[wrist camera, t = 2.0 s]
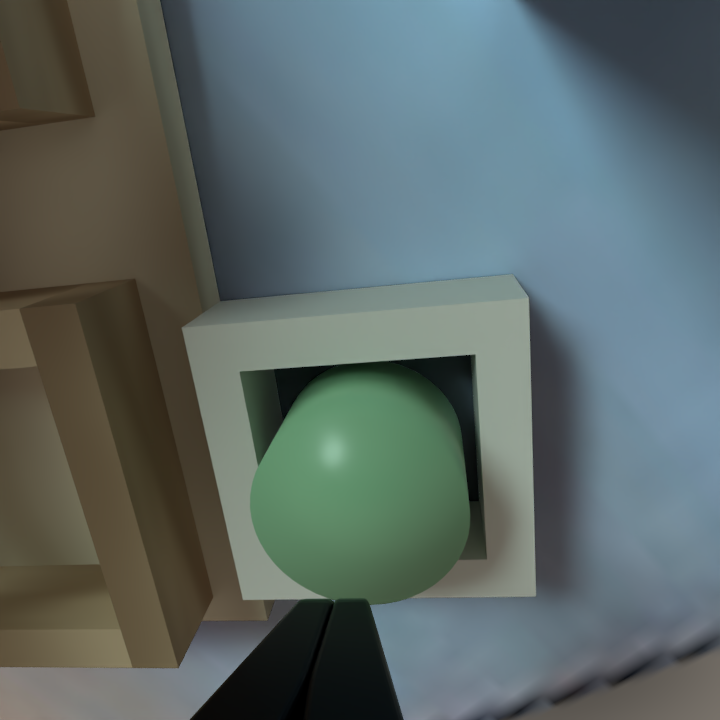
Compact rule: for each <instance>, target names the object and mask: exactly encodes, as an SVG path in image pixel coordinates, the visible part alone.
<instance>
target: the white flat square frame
mask: <svg viewBox="0 0 720 720" xmlns="http://www.w3.org/2000/svg"><path fill="white" fill-rule="evenodd" d="M182 331H183V336H184V340H185V345H186V349H187V354H188V358H189V363H190V367H191V371H192V376H193V380H194V385H195V389H196V394H197V398H198V402H199V407H200V411H201V416H202V420H203V425H204V429H205V433H206V438H207V442H208V447H209V451H210V456H211V460H212V465H213V469H214V473H215V478H216V482H217V487H218V491H219V496H220V500H221V504H222V509H223V513H224V518H225V522H226V527H227V531H228V535H229V540H230V544H231V549H232V553H233V558H234V562H235V567H236V571H237V575H238V580H239V584H240V589H241V593H242V598H243V600H284V599H324V598H326V597H324V596H321V595H318V594H316V593H314V592H312V591H310V590H308V589H306V588H304V587H303V586H301V585H299V584H298V583H296V582H295V581H293V580H292V579H291V578H290V577H288V576H287V575H286V574H285V573H283V572H282V571H281V570H280V569H279V568H278V567H277V566H276V565H275V564H274V562H273V561H272V560H271V559H270V557H269V556H268V555H267V553H266V552H265V550H264V548H263V547H262V545H261V543H260V541H259V539H258V537H257V535H256V532H255V529H254V526H253V522H252V518H251V511H250V493H251V487H252V482H253V479H254V476H255V473H256V470H257V468H258V467H259V465H260V463H261V461H262V459H263V457H264V455H265V453H266V452H267V450H268V448H269V446H270V444H271V443H272V441H273V439H274V437H275V435H276V434H277V432H278V430H279V428H280V426H281V425H282V423H283V417H282V412H281V406H280V400H279V395H278V389H277V383H276V378H275V372H274V369H281V368H295V367H309V366H323V365H336V364H350V363H364V362H378V361H391V360H405V359H419V358H433V357H446V356H460V355H470V356H471V373H472V390H473V407H474V424H475V441H476V458H477V475H478V492H479V501H472V502H469V506H470V528H469V534H468V538H467V541H466V544H465V547H464V550H463V552H462V553H461V555H460V557H459V559H458V561H457V562H456V563H455V565H454V566H453V568H452V569H451V570H450V571H449V572H448V573H447V574H446V575H445V576H444V577H443V578H442V579H441V580H440V581H439V582H437V583H436V584H435V585H433V586H432V587H430V588H429V589H427V590H425V591H423V592H422V593H420V594H417V595H415V596H413V597H410V598H460V597H536V573H535V531H534V489H533V446H532V404H531V362H530V319H529V297H528V296H527V294H526V293H525V291H524V290H523V289H522V287H521V286H520V284H519V283H518V281H517V280H516V278H515V277H514V275H513V274H510V275H499V276H488V277H477V278H466V279H455V280H444V281H434V282H423V283H412V284H401V285H390V286H379V287H368V288H358V289H347V290H336V291H325V292H314V293H303V294H292V295H282V296H271V297H260V298H249V299H238V300H227V301H220V302H218V303H217V304H215V305H214V306H212V307H211V308H210V309H208V310H207V311H205V312H204V313H202V314H201V315H199V316H198V317H197V318H195V319H194V320H192V321H191V322H189V323H188V324H186V325H185V326H184V327H182ZM328 599H329V598H328Z"/></svg>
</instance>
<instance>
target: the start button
mask: <svg viewBox="0 0 720 720" xmlns="http://www.w3.org/2000/svg"><path fill="white" fill-rule="evenodd" d="M250 511H251V518H252V522H253V526H254V529H255V532H256V535H257V537H258V539H259V541H260V543H261V545H262V547H263V548H264V550H265V552H266V553H267V555H268V556H269V557H270V559H271V560H272V561H273V562H274V564H275V565H276V566H277V567H278V568H279V569H280V570H281V571H282V572H283V573H285V574H286V575H287V576H288V577H290V578H291V579H292V580H293V581H295V582H296V583H298V584H299V585H301V586H303V587H304V588H306V589H308V590H310V591H312V592H314V593H316V594H318V595H321V596H324V597H326V598H329V599H333V600H337V599H340V598H365V599H367V600H368V602H369V604H370V605H375V604H386V603H392V602H397V601H401V600H404V599H407V598H410V597H413V596H415V595H417V594H420V593H422V592H423V591H425V590H427V589H429V588H430V587H432V586H433V585H435V584H436V583H437V582H439V581H440V580H441V579H442V578H443V577H444V576H445V575H446V574H447V573H448V572H449V571H450V570H451V569H452V568H453V566H454V565H455V563H456V562H457V561H458V559H459V557H460V555H461V553H462V552H463V550H464V547H465V544H466V541H467V538H468V534H469V528H470V506H469V496H468V487H467V478H466V469H465V460H464V451H463V442H462V434H461V428H460V424H459V421H458V418H457V415H456V413H455V411H454V409H453V407H452V405H451V404H450V402H449V401H448V399H447V398H446V396H445V395H444V394H443V393H442V392H441V391H440V389H439V388H437V387H436V386H435V385H434V384H433V383H432V382H431V381H430V380H428V379H427V378H425V377H424V376H422V375H421V374H419V373H417V372H415V371H413V370H411V369H409V368H407V367H404V366H401V365H399V364H395V363H391V362H386V361H378V362H364V363H350V364H341V365H338V366H335V367H333V368H331V369H328V370H326V371H325V372H323V373H321V374H320V375H318V376H317V377H315V378H314V379H313V380H312V381H310V382H309V383H308V384H307V385H306V386H305V387H304V388H303V390H302V391H301V392H300V394H299V395H298V396H297V398H296V399H295V401H294V403H293V405H292V407H291V408H290V410H289V412H288V414H287V416H286V417H285V419H284V421H283V423H282V425H281V426H280V428H279V430H278V432H277V434H276V435H275V437H274V439H273V441H272V443H271V444H270V446H269V448H268V450H267V452H266V453H265V455H264V457H263V459H262V461H261V463H260V465H259V467H258V468H257V470H256V473H255V476H254V479H253V482H252V487H251V493H250Z"/></svg>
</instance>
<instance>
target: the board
mask: <svg viewBox="0 0 720 720" xmlns="http://www.w3.org/2000/svg"><path fill="white" fill-rule="evenodd" d="M218 302H220V298H219V293H218V288H217V283H216V278H215V273H214V268H213V263H212V258H211V253H210V248H209V243H208V238H207V233H206V228H205V223H204V218H203V213H202V208H201V203H200V198H199V193H198V188H197V183H196V178H195V173H194V168H193V163H192V158H191V153H190V148H189V143H188V138H187V133H186V128H185V123H184V118H183V113H182V108H181V103H180V98H179V93H178V88H177V83H176V78H175V73H174V68H173V63H172V58H171V53H170V48H169V43H168V38H167V33H166V28H165V23H164V18H163V13H162V8H161V3H160V0H0V667H83V668H179V666H180V664H181V662H182V660H183V658H184V656H185V654H186V652H187V650H188V648H189V646H190V644H191V642H192V640H193V638H194V636H195V634H196V632H197V630H198V627H199V625H200V623H201V621H268V618H269V615H270V612H271V609H272V607H273V604H274V601H275V600H243V598H242V593H241V589H240V584H239V580H238V575H237V571H236V567H235V562H234V558H233V553H232V549H231V544H230V540H229V535H228V531H227V527H226V522H225V518H224V513H223V509H222V504H221V500H220V496H219V491H218V487H217V482H216V478H215V473H214V469H213V465H212V460H211V456H210V451H209V447H208V442H207V438H206V433H205V429H204V425H203V420H202V416H201V411H200V407H199V402H198V398H197V394H196V389H195V385H194V380H193V376H192V371H191V367H190V363H189V358H188V354H187V349H186V345H185V340H184V336H183V331H182V327H184V326H185V325H186V324H188V323H189V322H191V321H192V320H194V319H195V318H197V317H198V316H199V315H201V314H202V313H204V312H205V311H207V310H208V309H210V308H211V307H212V306H214V305H215V304H217V303H218Z"/></svg>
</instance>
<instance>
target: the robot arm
mask: <svg viewBox="0 0 720 720" xmlns="http://www.w3.org/2000/svg"><path fill="white" fill-rule="evenodd" d="M190 720H404V719H403V716H402V713H401V709H400V706H399V702H398V699H397V696H396V692H395V689H394V685H393V682H392V679H391V675H390V672H389V668H388V665H387V662H386V658H385V655H384V651H383V648H382V645H381V641H380V638H379V634H378V631H377V628H376V624H375V621H374V617H373V614H372V611H371V607H370V604H369V602H368V600H367V599H365V598H340V599H337V600H336V601H335V602H334V601H332V600H331V599H328V598H324V599H302V600H300V601H299V602H298V603H297V604H296V605H295V606H294V607H293V608H292V609H291V610H290V611H289V612H288V613H287V614H286V615H285V617H284V618H283V619H282V620H281V621H280V622H279V623H278V624H277V625H276V626H275V627H274V629H273V630H272V631H271V632H270V633H269V634H268V635H267V636H266V637H265V638H264V639H263V640H262V642H261V643H260V644H259V645H258V646H257V647H256V648H255V649H254V650H253V651H252V652H251V654H250V655H249V656H248V657H247V658H246V659H245V660H244V661H243V662H242V663H241V664H240V665H239V667H238V668H237V669H236V670H235V671H234V672H233V673H232V674H231V675H230V676H229V677H228V679H227V680H226V681H225V682H224V683H223V684H222V685H221V686H220V687H219V688H218V689H217V691H216V692H215V693H214V694H213V695H212V696H211V697H210V698H209V699H208V700H207V701H206V702H205V704H204V705H203V706H202V707H201V708H200V709H199V710H198V711H197V712H196V713H195V714H194V716H193V717H192V718H191V719H190Z"/></svg>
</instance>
